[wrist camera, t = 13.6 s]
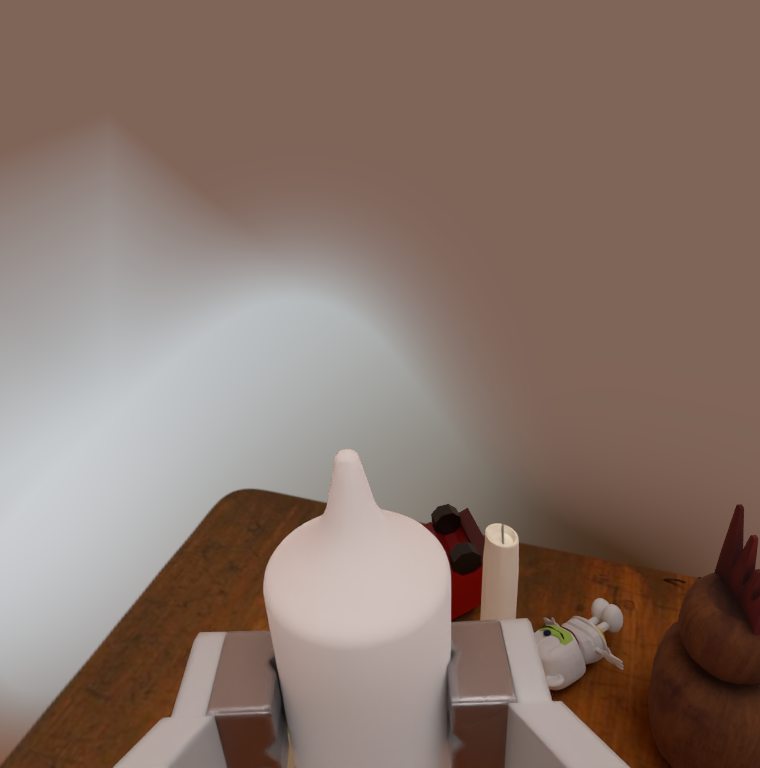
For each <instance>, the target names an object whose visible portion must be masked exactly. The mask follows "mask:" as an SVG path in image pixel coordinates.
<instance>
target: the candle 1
mask: <svg viewBox="0 0 760 768" xmlns="http://www.w3.org/2000/svg"><path fill="white" fill-rule="evenodd" d="M263 592H264V599H265V604H266V610H267V615H268V621H269V626H270V632H271V637H272V643H273V648H274V654H275V659H276V665H277V670H278V676H279V681H280V687H281V692H282V698H283V703H284V709H285V714H286V720H287V725H288V731H289V736H290V742H291V747H292V753H293V758H294V764H295V768H451V765H450V756H449V747H448V736H447V712H448V709H449V707H448V699H447V665H448V664H449V663H450V661H451V569H450V565H449V561H448V558H447V555H446V552H445V550H444V548H443V546H442V545H441V543H440V542H439V541H438V539H437V538H436V537H435V536H434V535H433V534H432V533H431V532H430V531H429V530H428V529H426V528H425V527H424V526H423V525H421V524H420V523H418V522H417V521H415V520H413V519H411V518H409V517H407V516H404V515H402V514H398V513H395V512H392V511H387V510H381V509H380V508H379V507H378V505H377V504H376V503H375V500H374V498H373V495H372V492H371V489H370V486H369V484H368V481H367V478H366V475H365V472H364V470H363V467H362V464H361V461H360V459H359V456H358V454H357V453H356V452H355V451H353V450H351V449H344V450H341V451H339V452H338V453H337V455H336V456H335V461H334V467H333V472H332V479H331V484H330V490H329V497H328V502H327V507H326V510H325V512H324V514H323V515H322V516H319V517H317V518H314V519H312V520H310V521H308V522H306V523H304V524H303V525H301V526H300V527H298V528H297V529H295V530H294V531H293V532H291V533H290V534H289V535H288V536H287V537H286V538H285V539H284V540H283V541H282V542H281V543H280V545H279V546H278V547H277V548H276V550H275V551H274V553H273V554H272V556H271V558H270V560H269V562H268V565H267V567H266V571H265V576H264V585H263Z"/></svg>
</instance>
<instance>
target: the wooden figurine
mask: <svg viewBox="0 0 760 768" xmlns="http://www.w3.org/2000/svg"><path fill="white" fill-rule="evenodd" d="M743 524H744V508H743V506H742V505H737V506H736V508H735V511H734V514H733V517H732V521H731V523H730V526H729V529H728V532H727V535H726V538H725V541H724V544H723V547H722V550H721V553H720V556H719V560H718V563H717V566H716V569H715V573H712V574H709V575H707V576H704V577H702V578H700V579H698V580H697V581H696V582H695V583H694V584H693V586H692V587H691V588H690V589H689V591H688V592H687V593H686V595H685V597H684V601H683V604H682V607H681V611H680V614H679V619H678V622H676V623H674V624H673V625H672V626H671V627H670V628H669V630H668V631H667V632H666V633H665V635H664V637H663V639H662V641H661V643H660V645H659V648H658V650H657V653H656V656H655V658H654V663H653V668H652V673H651V679H650V686H649V721H650V728H651V732H652V735H653V737H654V740H655V743H656V746H657V748H658V750H659V752H660V754H661V755H662V757H663V758H664V759H665V760H666V761H667V763H668V764H669V765H670V766H671V767H672V768H760V569H757V570H755V563H756V555H757V546H758V537H757V536H756V535H751V536H750V538H749V540H748V541H747V543H746V545H745V547H744V549H743Z"/></svg>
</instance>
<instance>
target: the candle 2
mask: <svg viewBox="0 0 760 768" xmlns="http://www.w3.org/2000/svg"><path fill="white" fill-rule="evenodd" d="M518 572H519V540H518V536H517V534H516V532H515V531H514V530H513V529H512V528H510V527H509V526H507V525H504V524H498V523H497V524H491V525H490V526H488V527H487V528H486V530H485V544H484V554H483V573H482V595H481V617H480V620H496V619H497V620H503V619H516V605H517V589H518Z"/></svg>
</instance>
